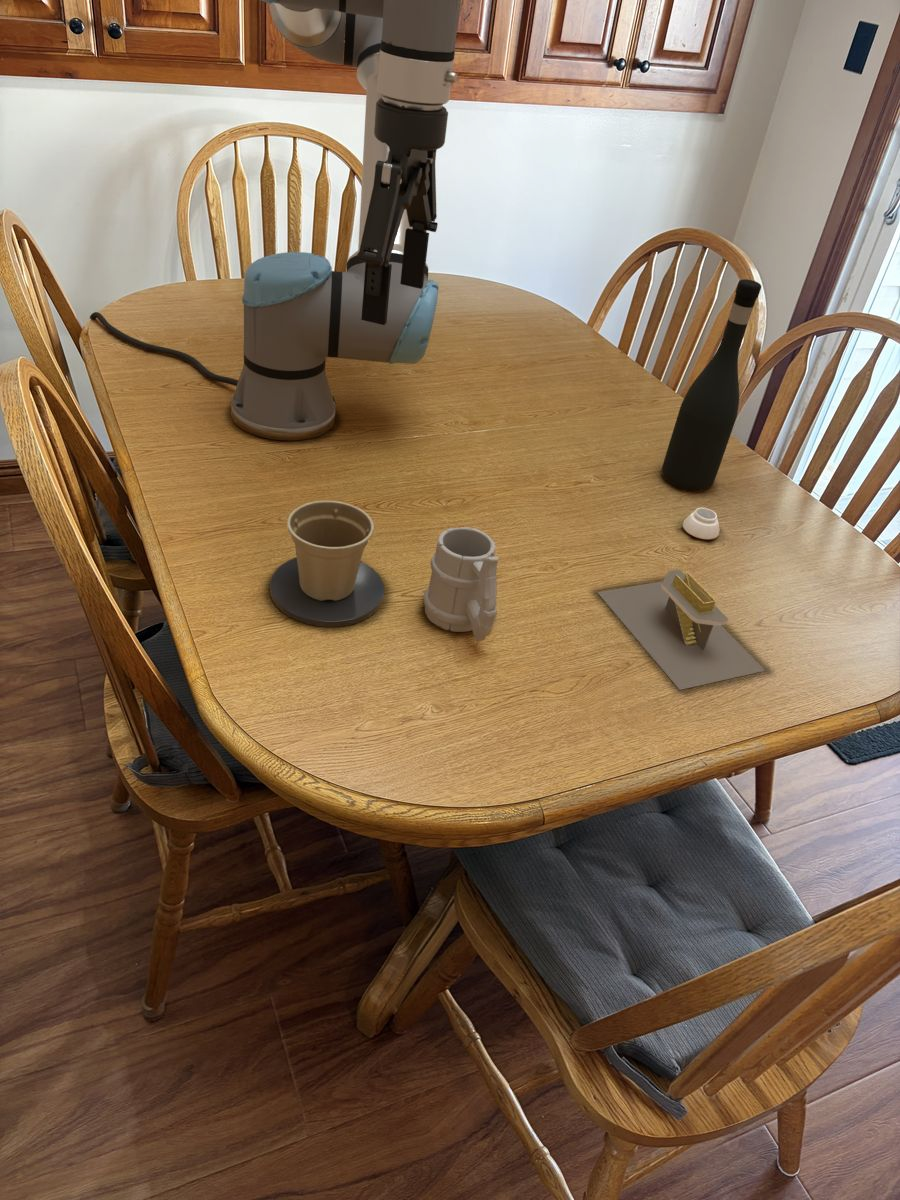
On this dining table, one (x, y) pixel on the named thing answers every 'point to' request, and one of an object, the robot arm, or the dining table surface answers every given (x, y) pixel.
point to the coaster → (327, 611)
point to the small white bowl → (702, 524)
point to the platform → (681, 630)
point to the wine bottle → (710, 405)
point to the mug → (463, 582)
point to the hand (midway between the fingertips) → (393, 303)
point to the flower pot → (329, 546)
